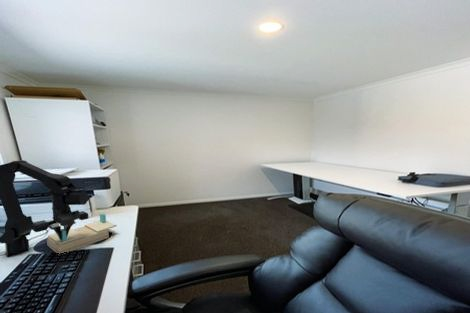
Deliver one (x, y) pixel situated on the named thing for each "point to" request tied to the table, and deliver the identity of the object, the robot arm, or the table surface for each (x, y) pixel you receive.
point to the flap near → (71, 236)
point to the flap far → (101, 224)
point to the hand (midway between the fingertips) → (63, 239)
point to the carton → (78, 240)
